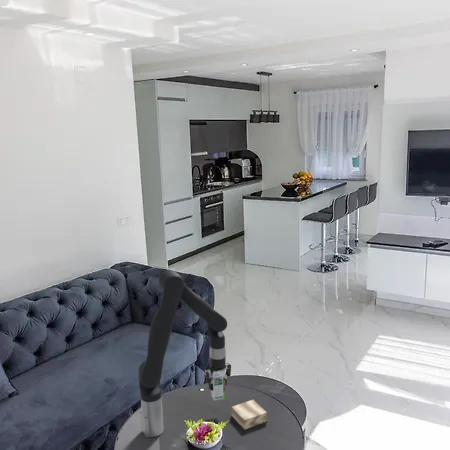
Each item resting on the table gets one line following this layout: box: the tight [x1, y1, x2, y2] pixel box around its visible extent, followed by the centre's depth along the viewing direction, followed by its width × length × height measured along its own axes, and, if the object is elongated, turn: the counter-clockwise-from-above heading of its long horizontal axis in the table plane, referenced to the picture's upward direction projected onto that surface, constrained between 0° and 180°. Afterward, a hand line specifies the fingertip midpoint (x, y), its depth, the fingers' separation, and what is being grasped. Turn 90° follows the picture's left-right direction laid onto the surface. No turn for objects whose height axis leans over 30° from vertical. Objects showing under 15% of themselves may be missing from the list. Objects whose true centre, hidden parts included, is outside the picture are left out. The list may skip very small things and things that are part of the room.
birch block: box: [231, 399, 268, 431], centre depth 215 cm, size 12×12×5 cm
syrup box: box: [210, 368, 226, 401], centre depth 218 cm, size 6×6×14 cm
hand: (217, 387), depth 218 cm, fingers closed on syrup box, 6 cm apart
